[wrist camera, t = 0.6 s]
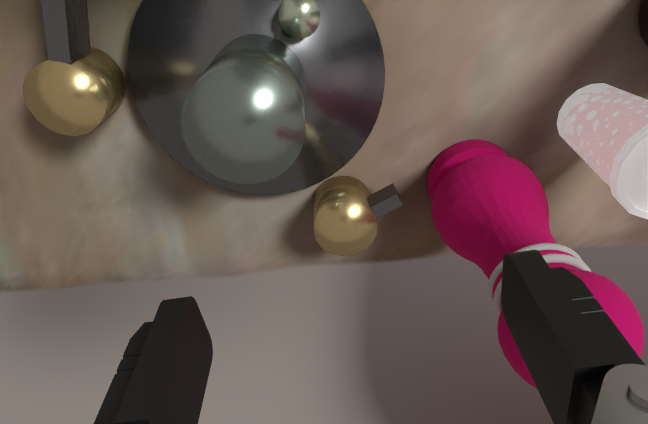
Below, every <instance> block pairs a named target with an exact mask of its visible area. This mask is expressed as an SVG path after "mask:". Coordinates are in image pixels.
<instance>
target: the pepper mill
mask: <svg viewBox="0 0 648 424" xmlns="http://www.w3.org/2000/svg"><path fill="white" fill-rule="evenodd" d="M427 191H428V194H429V196H430V199H431V201H432V219H433V222H434V225H435V227H436V229H437V231H438V232H439V234H440V236H441V237H442V239H443V241H444V242H445V243H446V244H447V245H448V246H449V247H450V248H451V249H452V250H453V251H454V252H456V253H457V254H458V255H460V256H462V257H464V258H465V259H467V260H470V261H472V262H473V263H475V264H477V265H478V266H479V267H480V268H481V269H482V270H483V272H484V273H485V274H486V276H487V278H488V279H489V282H488V286H487V287H488V288H487V289H488V298H489V300H490V302H491V304H492V306H493V307H494V310H495V312H496V314H497V316H498V318H499V319H498V339H499V343H500V345H501V348H502V350H503V353H504V355H505V357H506V358H507V360H508V362H509V363H510V365H511V366H512V368H513V369H514V370H515V372H516V373H518V375H520V376H521V377H522V378H523V379H524V380H525V381H526V382H527V383H529V384H530V385H532V386H533V387H535V388H537V387H536V385H535V383H534V381H533V379H532V376H531V374H530V372H529V370H528V368H527V366H526V364H525V362H524V360H523V358H522V355H521V353H520V351H519V349H518V347H517V345H516V343H515V341H514V339H513V337H512V334H511V332H510V330H509V328H508V326H507V324H506V321H505V319H504V315H503V311H502V305H501V289H502V268H503V257H504V255H505V254H506V253H513V252H521V251H528V250H538V251H539V252H540V254H541V255H542V257H543V258H544V260H545V261H546V263H547V264H548V266H549V267H550V268H558V267H564V268H565V269H567V270H568V271H570V272H571V273H573V274H574V275H576V276H577V277H579V278H580V279H582V281H583V282H584V283H585V285H586V286H587V287H588V289H589V290H590V291H591V293H592V294H593V295H594V299H596V300H597V301H598V302H599V304H600V305H601V306H602V308H603V311H604V312H606V313H607V314H608V316H609V317H610V318H611V320H612V321H613V323H614V324H615V325H616V327H617V328H618V329H619V331H620V332H621V333H622V335H623V336H624V337H625V339H626V340H627V341H628V343H629V344H630V345H631V347H632V348H633V350H634V351H635V352H636V354H637V355H638V356H639V358H641V356H642V351H643V345H644V329H643V324H642V321H641V318H640V315H639V313H638V311H637V309H636V308H635V306H634V305H633V303H632V302H631V300H630V299H629V297H628V296H627V295H626V293H625V292H623V291H622V290H621V289H620V288H619V287H618V286H617V285H616V284H615V283H613V282H612V281H611V280H609V279H607V278H606V277H603V276H601V275H598V274H595V273H593V272H591V270H590V269H589V267H588V266H587V265H586V264H585V263H584V262H583V261H582V260H581V258H580V257H579V256H578V255H577V254H576V252H574V251H573V250H572V249H570V248H568V247H566V246H563V245H559V244H557V243H556V242H555V240H554V238H553V237H552V235H551V232H550V229H549V211H548V202H547V198H546V195H545V192H544V190H543V187H542V185H541V183H540V182H539V180H538V179H537V177H536V176H535V174H534V173H533V172H532V171H531V170H530V169H529V168H528V167H527V166H526V165H525V164H523V163H522V162H520V161H518V160H516V159H514V158H511V157H508V156H507V155H506V153H505V152H504V151H503V150H502V149H501V148H499V147H498V146H497V145H495V144H493V143H490V142H488V141H483V140H468V141H463V142H460V143H457V144H454V145H453V146H451V147H449V148H448V149H446V150H445V151H443V152H442V153H441V154H440V155H439V156H438V157H437V158H436V160H435V161H434V162H433V164H432V166H431V168H430V170H429V173H428V176H427Z"/></svg>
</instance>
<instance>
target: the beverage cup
mask: <svg viewBox="0 0 648 424" xmlns="http://www.w3.org/2000/svg"><path fill="white" fill-rule="evenodd" d="M557 128H558V132H559V135H560V136H561V137H562V138H563V139H564V140H565V141H566V142H567V143H568V144H569V145H570V147H571V148H572V149H573V150H574V151H575V152H576V153H577V154H578V155H579V156H580V157H581V158H582V159H583V160H584V161H585V162H586V163H587V164H588V165H589V166H590V167H591V168H592V169H593V170H594V171H595V172H596V173H597V174H598V175H599V176H600V177H601V178H602V179H603V180H604V181H605V182H606V183H607V184H608V185H609V186H610V187H611V192H612V195H613V196H614V197H615V198H616V199H617V201H618V202H619V203H620V204H621V205H622V206H623V207H624V208H625V209H626V210H627V211H628V212H629V213H630V214H633V215H636V216H639V217H642V218H645V219H648V100H647V99H644V98H642V97H639V96H636V95H634V94H631V93H629V92H626V91H623V90H621V89H618V88H616V87H613V86H610V85H608V84H605V83H598V84H590V85H587V86H585V87H583V88H581V89H578V90H577V91H576V92H575V93H573V94H572V95H571V96H570V97H569V98H568V99H566V101H565V103H564V104H563V106H562V108H561V109H560V111H559V114H558V119H557Z"/></svg>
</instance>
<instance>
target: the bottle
mask: <svg viewBox="0 0 648 424" xmlns="http://www.w3.org/2000/svg"><path fill="white" fill-rule="evenodd" d="M639 26H640V32H641V36H642V38H643V39H644V41H645V42H646V44H647V45H648V0H642V2H641V7H640V13H639Z"/></svg>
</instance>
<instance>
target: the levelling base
mask: <svg viewBox="0 0 648 424" xmlns="http://www.w3.org/2000/svg"><path fill="white" fill-rule="evenodd" d="M128 66H129V75H130V82H131V86H132V91H133V95H134V98H135V101H136V104H137V106H138V109H139V112H140V114H141V116H142V118H143V119H144V121H145V123H146V125H147V127H148V129H149V130H150V132H151V133H152V135H153V136H154V137H155V139H156V140H157V142H158V143H159V144H160V145H161V146H162V147H163V149H164V150H165V151H166V152H167V153H168V154H169V155H170V156H171V157H172V158H173V159H174V160H175V161H177V162H178V163H179V164H180V165H181V166H183V167H184V168H185V169H187V170H188V171H190V172H191V173H192V174H194V175H196V176H198V177H199V178H201V179H203V180H205V181H207V182H209V183H211V184H214V185H216V186H218V187H221V188H225V189H228V190H231V191H235V192H240V193H245V194H255V195H276V194H283V193H290V192H294V191H297V190H301V189H305V188H307V187H310V186H312V185H314V184H317V183H319V182H321V181H323V180H324V179H326V178H328V177H330V176H331V175H333V174H334V173H335V172H337V171H338V170H339V169H341V168H342V167H343V166H344V165H345V164H346V163H348V162H349V161H350V160H351V159H352V158H353V157H354V155H355V154H356V153H357V152H358V151H359V149H360V148H361V147H362V146H363V144H364V142H365V141H366V139H367V138H368V136H369V134H370V133H371V131H372V128H373V126H374V124H375V122H376V120H377V117H378V114H379V110H380V107H381V104H382V98H383V92H384V80H385V67H384V57H383V51H382V46H381V42H380V38H379V35H378V32H377V29H376V27H375V24H374V21H373V19H372V17H371V15H370V13H369V11H368V10H367V8H366V6H365V4H364V3H363V1H362V0H143V1H142V3H141V5H140V7H139V9H138V11H137V13H136V17H135V20H134V23H133V26H132V29H131V35H130V41H129V55H128ZM313 203H314V235H315V238H316V241H317V243H318V244H319V245H320V246H321V247H322V248H323V249H324V250H325V251H327V252H329V253H331V254H334V255H338V256H351V255H355V254H358V253H360V252H362V251H364V250H365V249H367V248H368V247H369V246H370V245H371V244H372V243H373V241H374V239H375V238H376V235H377V221H376V219H377V218H379V217H381V216H383V215H385V214H387V213H389V212H391V211H393V210H395V209H397V208H399V207H401V206H403V204H402V201H401V198H400V195H399V193H398V191H397V189H396V188H395V186H394V184H391V185H389V186H387V187H385V188H383V189H381V190H379V191H377V192H375V193H373V194H371V195H370V192H369V190H368V188H367V187H366V186H365V184H363V183H362V182H361V181H360V180H358V179H356V178H353V177H349V176H337V177H333V178H331V179H328V180H327V181H325V182H324V183H322V184H321V185H320V186H319V188H318V189H317V191H316V193H315V195H314V201H313Z"/></svg>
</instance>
